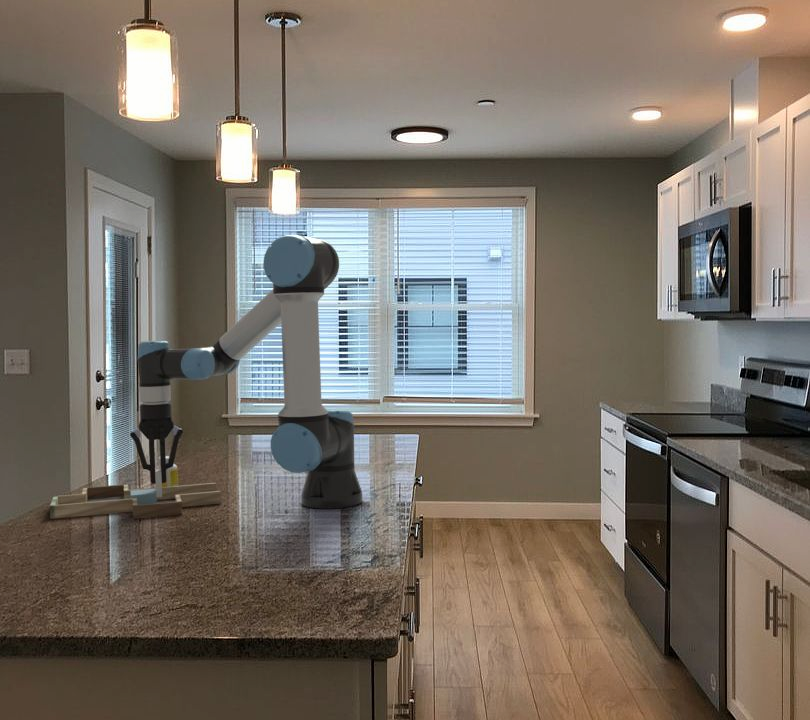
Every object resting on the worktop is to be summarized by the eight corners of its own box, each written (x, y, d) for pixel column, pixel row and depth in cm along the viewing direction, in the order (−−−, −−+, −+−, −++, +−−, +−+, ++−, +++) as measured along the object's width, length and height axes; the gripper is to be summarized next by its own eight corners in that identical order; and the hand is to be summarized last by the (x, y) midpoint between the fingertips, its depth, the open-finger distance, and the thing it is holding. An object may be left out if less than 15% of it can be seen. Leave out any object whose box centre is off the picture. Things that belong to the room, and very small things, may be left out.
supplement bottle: (177, 490, 224) (176, 454, 224) (179, 494, 219) (178, 457, 218) (156, 492, 222) (155, 456, 222) (158, 496, 217) (156, 459, 217)
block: (156, 507, 205) (156, 493, 205) (131, 509, 203) (130, 495, 203) (155, 502, 211) (155, 488, 211) (131, 504, 209) (130, 490, 209)
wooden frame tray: (224, 510, 200) (224, 498, 200) (47, 526, 187) (46, 513, 187) (213, 488, 226) (212, 477, 226) (56, 501, 214) (56, 489, 214)
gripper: (181, 399, 213) (184, 490, 214) (128, 402, 209) (131, 495, 210) (183, 402, 206) (186, 496, 207) (128, 405, 201) (131, 501, 203)
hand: (159, 496), depth 208 cm, fingers closed
